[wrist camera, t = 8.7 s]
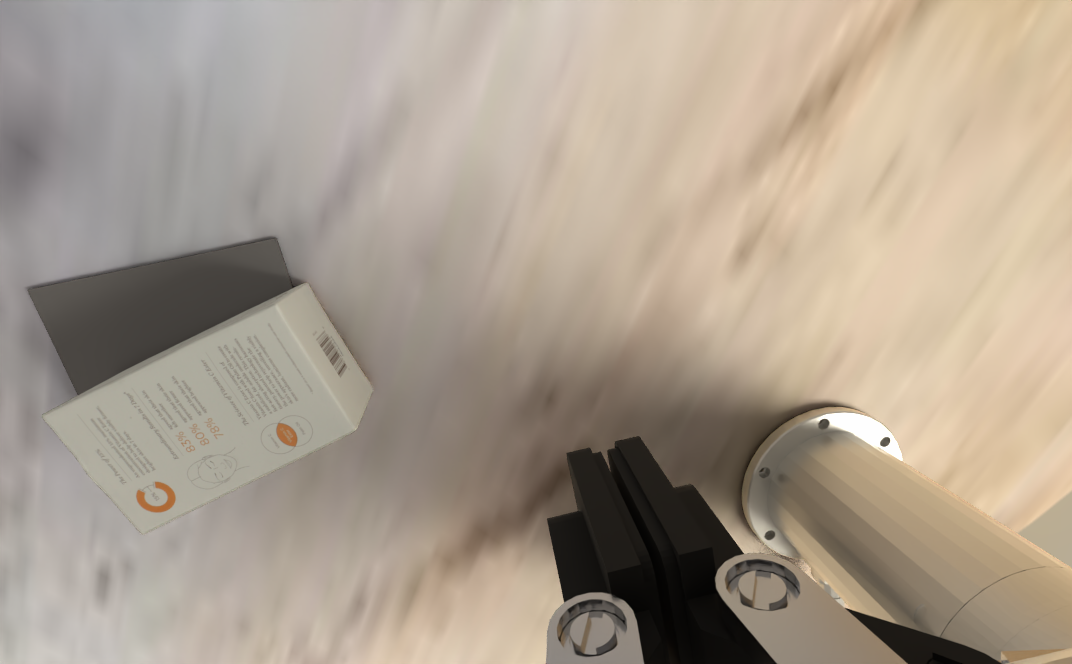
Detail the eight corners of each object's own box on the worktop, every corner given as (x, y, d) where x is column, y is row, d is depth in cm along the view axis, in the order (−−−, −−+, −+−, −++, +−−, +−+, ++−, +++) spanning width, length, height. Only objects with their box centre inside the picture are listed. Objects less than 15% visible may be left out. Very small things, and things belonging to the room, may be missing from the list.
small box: (309, 279, 32) (113, 372, 32) (275, 301, 26) (33, 416, 26) (376, 390, 35) (194, 477, 35) (359, 433, 29) (138, 540, 29)
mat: (336, 418, 35) (336, 420, 35) (118, 469, 34) (115, 472, 34) (276, 237, 32) (275, 238, 31) (31, 288, 31) (27, 290, 30)
